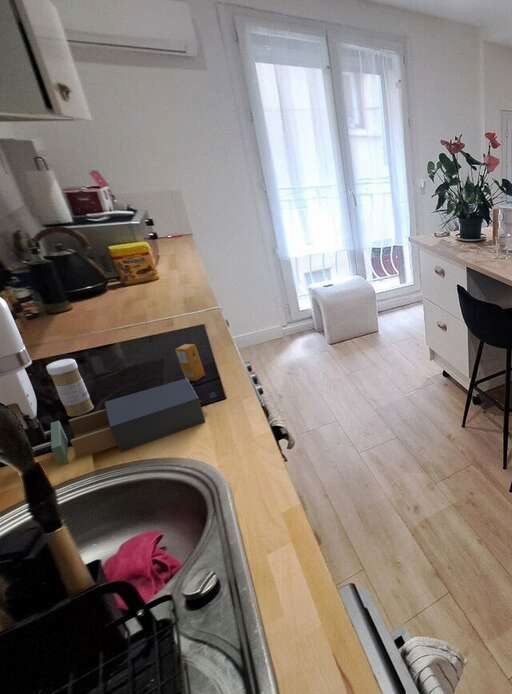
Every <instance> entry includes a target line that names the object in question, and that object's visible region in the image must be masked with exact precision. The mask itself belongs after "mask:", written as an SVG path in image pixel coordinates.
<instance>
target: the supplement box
mask: <svg viewBox="0 0 512 694" xmlns="http://www.w3.org/2000/svg"><path fill="white" fill-rule="evenodd" d="M196 345H197V344H195V343H184V344H182V345H180V346H178V347H177V348H175V349H174V352H175V354H176V357H177V359H178V360H177V361H178V362H179V365H180V366H179V367H180V368H181V371H182V373H183V377H184V379H185V378H187V380H188V381H189V382H198V381H199V380H201V379H202V378H203V377H205V376H206V372H205V370H204V367H203V363H202V360H201V358H200V354H199V351H198V349H197V346H196Z"/></svg>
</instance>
